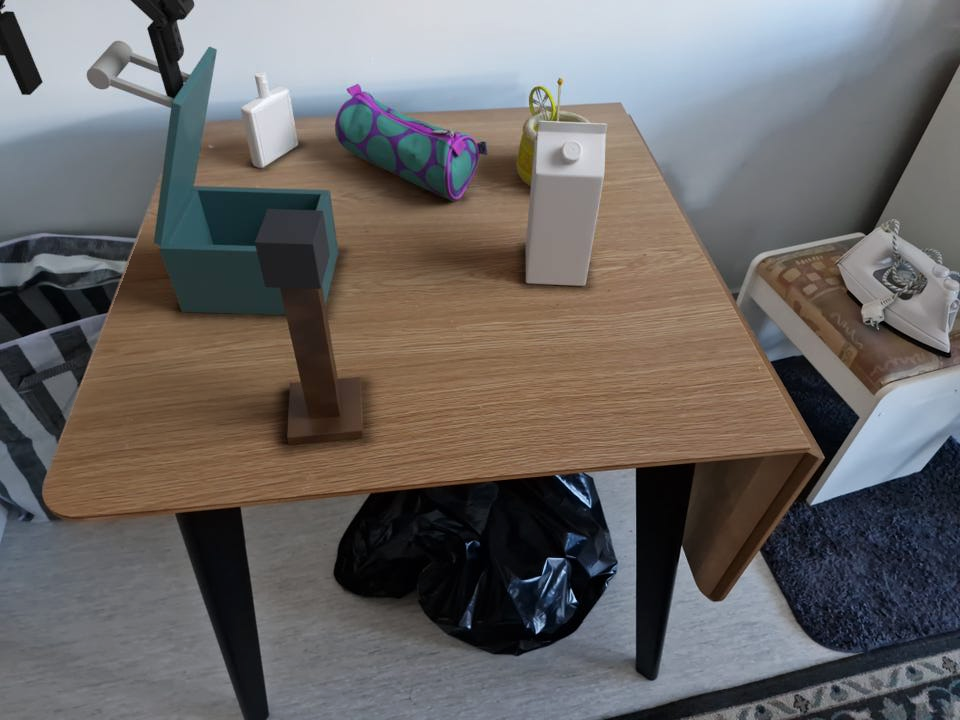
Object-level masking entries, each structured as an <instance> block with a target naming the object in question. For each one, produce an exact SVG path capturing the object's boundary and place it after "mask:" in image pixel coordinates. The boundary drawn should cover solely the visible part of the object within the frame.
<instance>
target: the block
mask: <svg viewBox="0 0 960 720" xmlns="http://www.w3.org/2000/svg"><path fill="white" fill-rule="evenodd" d="M255 246H256V250H257V255H258V259H259V263H260V267H261V271H262V275H263V279H264V283H265V287H271V288H304V289H321V287H322V283H323V279H324V275H325V271H326V268H327V264H328V260H329V256H330V253H329V246H328V240H327V233H326V227H325V220H324V214H323V211H317V210H284V209H267V211H266V214H265V217H264V219H263V222H262V224H261V227H260V230H259V232H258V235H257V237H256V240H255Z"/></svg>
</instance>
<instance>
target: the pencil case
mask: <svg viewBox="0 0 960 720" xmlns="http://www.w3.org/2000/svg"><path fill="white" fill-rule="evenodd" d="M361 87H362V86H361V85H360V84H359V83H356V84H354V85H352V86H350V87H347V88H346V92H347V93H348V94H349V95H350V96H351V98H349V99H348V100H346V101H345V102H344V103H343V104H342V105H341V106H340V108H339V110H338V112H337V115H336V118H335V123H334V132H335V136H336V139H337V141H338V143H339V144H340V145H341V147H343V148H344V149H345V150H346V151H348V152H349V153H351V154H352V155H353V156H355V157H357V158H360V159H362V160H364V161H366V162H368V163H370V164H372V165H374V166H376V167H379V168H381V169H383V170H385V171H387V172H390V173H391V174H393V175H396V176H398V177H399V178H401V179H404V180H405V181H407V182H408V183H409V182H410V183H411V184H413V185H415V186H418V187H420V188H422V189H424V190H427V191H429V192H431V193H434V194H436V195H438V196H440V197H442V198H445V199H448V200H449V201H451V202H456V201H459V200H460V199H461V198H462V197H463V195H464V194H465V192H466V190H467V189H468V187H469V186H470V184H471V182H472V180H473V178H474V176H475V173H476V171H477V167H478V165H479V160H480V155H483V156H488V148H487V142H486V141H484V140H483V141H479V142H477V141H476V139H475V138H474V137H473V136H472V135H470V134H468V133H465V132H462V131H461V132H460V131H455V130H452V129H446V128H443V127H441V126H438V125H432V124H430V123H429V122H427V121H423V120H420V119H416V118H413V117H410V116H408V115H407V114H406V115H405V114H402V113H401V112H399V111H397V110H394V109H392V108H391V107H388V106H387V105H385V104H383V103H381V101H378V100H377V99H375V97H374V96H373V95H372V94H370V93H369V92H367V91H362V88H361Z"/></svg>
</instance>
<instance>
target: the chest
mask: <svg viewBox="0 0 960 720" xmlns="http://www.w3.org/2000/svg"><path fill="white" fill-rule="evenodd" d="M267 209H284V210H317V211H323V214H324V220H325V227H326V233H327V240H328V246H329V253H330V256H329V260H328V264H327V268H326V271H325V275H324V279H323V283H322V288H323V294H324V300H325V306H326V304H327V301H328V296H329V293H330V288H331V284H332V281H333V276H334V273H335V269H336V265H337V264H336V263H337V259H338V256H339V253H340V252H339V251H340V250H339V245H338V239H337V238H338V237H337V232H336V224H335V217H334V210H333V203H332V196H331V190H329V189H304V188H303V189H302V188H300V189H299V188H274V187H273V188H271V187H241V186H240V187H239V186H237V187H236V186H210V185H209V186H204V185H193V187H192V189H191V191H190V193H189V195H188V196H187V198H186V200H185V202H184V204H183V206H182V208H181V210H180V211H179V213H178V215H177V217H176V219H175V221H174V223H173V225H172V227H171V228H170V230H169V232H168V234H167V236H166V238H165V240H164V242H163V243H162V245H159V246H158V250H159V253H160V255H161V258H162V261H163V264H164V266H165V269H166V272H167V274H168V275H167V276H168V277H169V280H170V282H171V285H172V288H173V291H174V293H175V296H176V299H177V302H178V305H179V308H180V311H181V312H182V313H200V314H201V313H204V314H207V313H208V314H233V315H234V314H236V315H238V314H240V315H267V316H268V315H271V316H272V315H273V316H286V314H285V309H284V305H283V300H282V296H281V291H280V288H271V287H265V283H264V279H263V275H262V271H261V267H260V263H259V259H258V255H257V250H256V246H255V240H256V237H257V235H258V232H259V230H260V227H261V224H262V222H263V219H264V217H265V214H266V211H267Z"/></svg>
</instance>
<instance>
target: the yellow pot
mask: <svg viewBox="0 0 960 720" xmlns="http://www.w3.org/2000/svg"><path fill="white" fill-rule="evenodd" d="M556 82H557V85H558V90H557V91H558V92H557V107H556V102H555V100H554V98H553V97H554V96H553V95H552V93H551V92H550V91H549V90H548V89H547V87H545V86H542V85H537V86H534V87H533V88H532V89H531V90H530V92H529V95H528V106H529V110H530V112H531V115H532V116H531V117H529V118H527V119H526V121H525V122H523V124H522V135H521V139H520V142H519V148H518V152H517V157H516V170H517V173H518V176H519V177H520V179H521V180H522V181H523V183H525V184H526V185H527V186H529V187H531V180H532V169H533V158H534V146H535V138H536V135H537V131H538V122H539V121H559V122H582V123H591V122H590V121H589V119H588V118H586V117H584V116H582V115H579V114H577V113H574V112H570V111H565V110H561V109H560V107H561V92H562V85H563V83H564V80H563V78H562V77H559V78H558V79H557V81H556ZM541 91H543V92H544V97H543V98H542V94H541ZM534 94H536V96H537V100H536V99H535V98H534ZM548 99H549V103H550V106H548V105H545V103H546V102H547V100H548ZM540 101H541V102H540ZM534 105H537V106H539V108H538V109H537V110H536V111H535V108H534ZM543 110H544V111H543Z"/></svg>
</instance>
